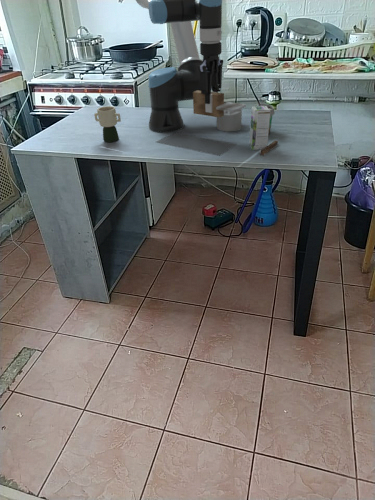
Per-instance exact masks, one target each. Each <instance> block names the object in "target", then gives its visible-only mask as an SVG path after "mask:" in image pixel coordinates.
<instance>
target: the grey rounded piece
mask: <svg viewBox="0 0 375 500" xmlns="http://www.w3.org/2000/svg"><path fill="white" fill-rule="evenodd" d="M242 113H243V108H242V109H240V110H238V111H236V112H230V111H224V116H222V117H216V128H217V130H219V131H222V132H233V131H234V132H235V131H236V132H238V131H239V130H241V128H242V120H243V119H242V115H243V114H242Z"/></svg>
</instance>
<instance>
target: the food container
mask: <svg viewBox="0 0 375 500" xmlns="http://www.w3.org/2000/svg"><path fill="white" fill-rule="evenodd" d="M259 106H267V107H268V108H269V110H270V122H269V133H268V136H269V135H270V133H271V129H272V120H273V116H274V115H275V109H274V106H272V105H270V104H265V103H259Z"/></svg>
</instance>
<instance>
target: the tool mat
mask: <svg viewBox="0 0 375 500" xmlns="http://www.w3.org/2000/svg"><path fill="white" fill-rule="evenodd" d="M155 143H157V144H163V145H167V146H172V147H176V148H181V149H187V150H190V151H191V150H192V151H196V152H200V153H205V154H210V155H214V156H221V155H224V153H226V152H228V151H229V150H231V149H232V148H234V147H236V146H238V144H237V143H233V142H227V141H223V140H218V139H213V138H207V137H202V136H196V135H191V134H186V133H182V132H181V133H180V132H177V131H173V132H171V134H169V135H167V136H165V137H163V138H161V139H158V140H156V141H155Z"/></svg>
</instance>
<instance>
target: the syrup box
mask: <svg viewBox="0 0 375 500" xmlns="http://www.w3.org/2000/svg"><path fill="white" fill-rule="evenodd" d="M250 112H251V113H250V114H251V115H250V128H249V129H250V130H249V144H248V145H249V147H250V148H251V150H252V151H254V150H259V151H261V150H262V149H264V148H265V147H267V146H268V145H269V143H268V142H269V135H268V133H269V122H270V110H269V108H268V107H267V106H260V105H256V106H255V105H254V106H251V111H250Z"/></svg>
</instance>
